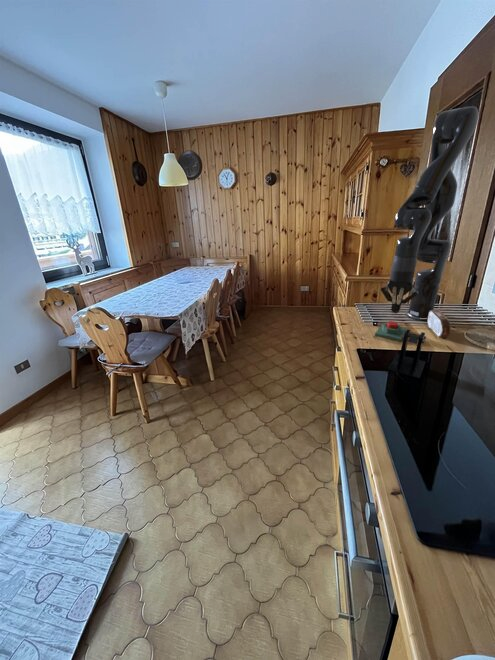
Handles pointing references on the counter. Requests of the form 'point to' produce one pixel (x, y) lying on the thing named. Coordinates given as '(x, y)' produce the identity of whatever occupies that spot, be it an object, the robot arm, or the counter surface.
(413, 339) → the lever
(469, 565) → the counter surface
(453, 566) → the counter surface
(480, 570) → the counter surface
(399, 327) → the button box
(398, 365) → the bracket
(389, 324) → the button
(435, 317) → the white and brown slab
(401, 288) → the robot arm
